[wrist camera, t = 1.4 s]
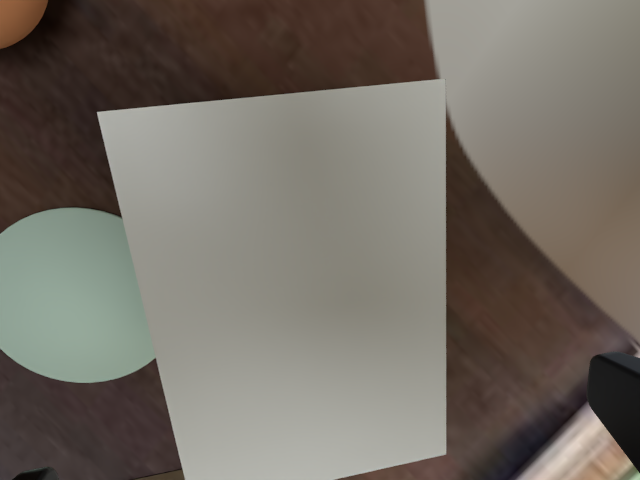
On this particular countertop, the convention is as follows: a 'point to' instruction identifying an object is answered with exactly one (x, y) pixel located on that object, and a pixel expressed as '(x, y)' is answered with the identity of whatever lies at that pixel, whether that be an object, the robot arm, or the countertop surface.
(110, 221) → the rest disc
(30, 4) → the brown egg
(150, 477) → the strip
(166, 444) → the countertop surface
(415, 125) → the matte grey cube
